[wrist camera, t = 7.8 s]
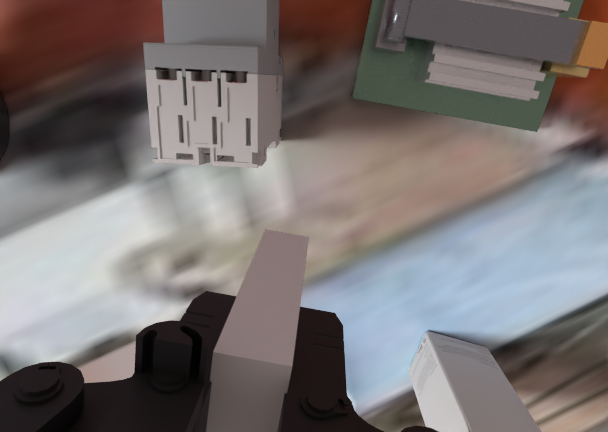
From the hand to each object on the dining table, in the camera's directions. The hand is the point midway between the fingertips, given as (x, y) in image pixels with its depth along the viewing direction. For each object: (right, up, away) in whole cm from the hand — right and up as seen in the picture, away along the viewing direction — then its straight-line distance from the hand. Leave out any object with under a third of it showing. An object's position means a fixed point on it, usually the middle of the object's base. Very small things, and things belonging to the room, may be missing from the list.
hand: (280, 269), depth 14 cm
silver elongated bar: (+16, +16, +18) cm, 29 cm away
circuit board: (+16, +19, +25) cm, 35 cm away
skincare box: (+19, -15, +36) cm, 44 cm away
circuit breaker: (-5, +17, +27) cm, 32 cm away
